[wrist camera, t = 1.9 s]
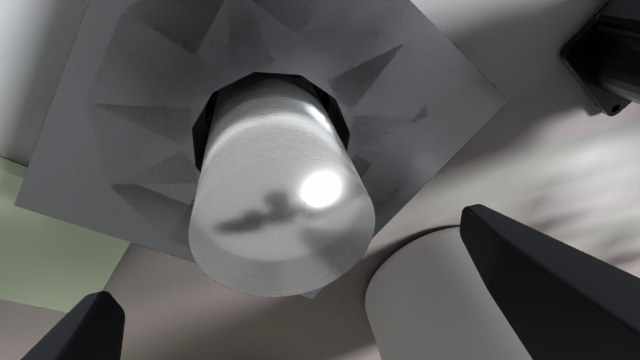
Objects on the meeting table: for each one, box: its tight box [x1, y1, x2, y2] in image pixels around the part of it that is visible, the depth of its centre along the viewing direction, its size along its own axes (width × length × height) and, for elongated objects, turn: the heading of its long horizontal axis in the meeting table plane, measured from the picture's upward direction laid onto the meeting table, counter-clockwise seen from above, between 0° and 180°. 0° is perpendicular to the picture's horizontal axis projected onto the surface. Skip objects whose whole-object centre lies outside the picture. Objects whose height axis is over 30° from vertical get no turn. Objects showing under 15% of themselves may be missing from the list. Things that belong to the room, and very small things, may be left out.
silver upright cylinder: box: [188, 72, 375, 297], centre depth 13 cm, size 5×5×9 cm
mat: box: [0, 157, 131, 313], centre depth 17 cm, size 9×9×1 cm
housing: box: [14, 0, 508, 299], centre depth 15 cm, size 14×14×4 cm
